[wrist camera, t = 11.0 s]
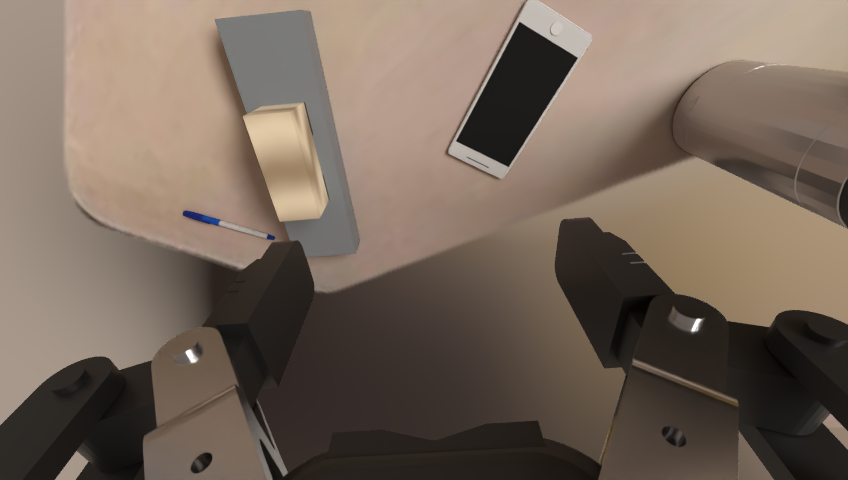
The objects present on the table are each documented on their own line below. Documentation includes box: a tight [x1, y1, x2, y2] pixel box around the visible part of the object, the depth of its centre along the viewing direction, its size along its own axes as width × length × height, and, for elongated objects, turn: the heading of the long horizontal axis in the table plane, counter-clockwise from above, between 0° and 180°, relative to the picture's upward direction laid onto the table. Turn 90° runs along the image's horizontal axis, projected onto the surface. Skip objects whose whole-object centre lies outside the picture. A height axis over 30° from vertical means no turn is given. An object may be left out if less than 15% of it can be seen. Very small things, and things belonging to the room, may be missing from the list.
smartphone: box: [448, 0, 592, 179], centre depth 35 cm, size 7×15×1 cm, turn 154°
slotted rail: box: [215, 10, 360, 257], centre depth 36 cm, size 24×7×3 cm, turn 5°
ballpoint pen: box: [183, 211, 275, 240], centre depth 42 cm, size 10×1×1 cm, turn 71°
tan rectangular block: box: [243, 102, 329, 222], centre depth 35 cm, size 10×4×7 cm, turn 5°
